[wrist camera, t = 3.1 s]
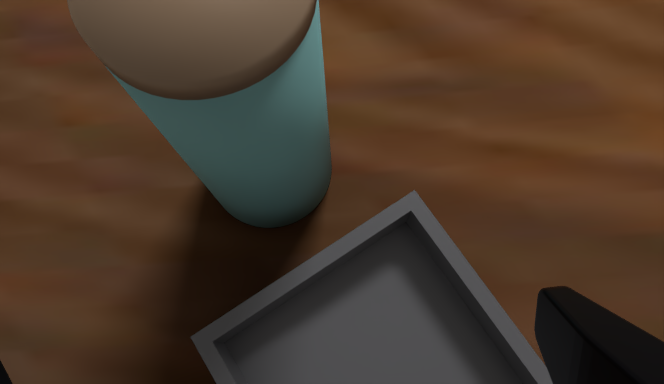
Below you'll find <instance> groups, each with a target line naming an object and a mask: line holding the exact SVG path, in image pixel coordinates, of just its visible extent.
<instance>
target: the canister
mask: <svg viewBox="0 0 664 384" xmlns="http://www.w3.org/2000/svg"><path fill="white" fill-rule="evenodd" d="M67 2H68V8H69V11H70V14H71V18H72V20H73V22H74V24H75V26H76V28H77V31H78V32H79V34H80V35H81V37H82V38H83V39H84V41H85V42H86V44H87V45H88V46H89V47H90V48H91V50H92V51H93V52H94V53H95V54H96V56H97V57H98V58H99V59H100V60H101V61H102V63H103V64H104V65H105V66H106V67H107V69H108V70H109V71H110V72H111V73H112V75H113V76H114V77H115V78H116V79H117V81H118V82H119V83H120V84H121V85H122V87H123V88H124V89H125V90H126V91H127V93H128V94H129V95H130V96H131V97H132V99H133V100H134V101H135V102H136V103H137V105H138V106H139V107H140V108H141V109H142V111H143V112H144V113H145V114H146V115H147V116H148V118H149V119H150V120H151V121H152V122H153V124H154V125H155V126H156V127H157V128H158V130H159V131H160V132H161V133H162V134H163V136H164V137H165V138H166V139H167V140H168V142H169V143H170V144H171V145H172V146H173V148H174V149H175V150H176V151H177V152H178V154H179V155H180V156H181V157H182V158H183V160H184V161H185V162H186V163H187V164H188V166H189V167H190V168H191V169H192V170H193V172H194V173H195V174H196V175H197V176H198V177H199V179H200V180H201V181H202V182H203V183H204V185H205V186H206V187H207V188H208V189H209V191H210V192H211V193H212V194H213V195H214V197H215V198H216V199H217V200H218V201H219V203H220V204H221V205H222V206H223V207H224V208H225V209H226V211H227V212H228V213H230V214H231V215H232V216H233V217H235V218H236V219H238V220H240V221H241V222H244V223H246V224H249V225H252V226H256V227H263V228H275V227H282V226H286V225H289V224H292V223H294V222H297V221H298V220H300V219H302V218H304V217H305V216H307V215H308V214H309V213H311V212H312V211H313V210H314V209H315V208H316V207H317V205H318V204H319V203H320V202H321V200H322V199H323V197H324V195H325V194H326V191H327V189H328V186H329V183H330V179H331V170H332V165H331V152H330V139H329V127H328V114H327V102H326V89H325V77H324V64H323V51H322V39H321V26H320V14H319V1H318V0H67Z"/></svg>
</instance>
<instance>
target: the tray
mask: <svg viewBox="0 0 664 384" xmlns="http://www.w3.org/2000/svg"><path fill="white" fill-rule="evenodd" d="M191 339H192V341H193V343H194V344H195V346H196V348H197V350H198V352H199V353H200V355H201V357H202V359H203V361H204V362H205V364H206V366H207V368H208V370H209V371H210V373H211V375H212V377H213V379H214V380H215V382H216V384H553V383H552V380H551V378H550V375H549V372H548V370H547V367H546V366H545V365H544V363H543V362H542V361H541V359H540V358H539V357H538V355H537V354H536V353H535V351H534V350H533V349H532V347H531V346H530V345H529V343H528V342H527V341H526V339H525V338H524V337H523V335H522V334H521V332H520V331H519V330H518V328H517V327H516V326H515V324H514V323H513V322H512V320H511V319H510V318H509V316H508V315H507V314H506V312H505V311H504V310H503V308H502V307H501V306H500V304H499V303H498V302H497V300H496V299H495V298H494V296H493V295H492V293H491V292H490V291H489V289H488V288H487V287H486V285H485V284H484V283H483V281H482V280H481V279H480V277H479V276H478V275H477V273H476V272H475V271H474V269H473V268H472V267H471V265H470V264H469V263H468V261H467V260H466V259H465V257H464V256H463V254H462V253H461V252H460V250H459V249H458V248H457V246H456V245H455V244H454V242H453V241H452V240H451V238H450V237H449V236H448V234H447V233H446V232H445V230H444V229H443V228H442V226H441V225H440V224H439V222H438V221H437V220H436V218H435V217H434V215H433V214H432V213H431V211H430V210H429V209H428V207H427V206H426V205H425V203H424V202H423V201H422V199H421V198H420V197H419V195H418V194H417V193H416V191H415V190H414V191H412V192H411V193H409V194H408V195H406V196H405V197H403V198H402V199H400V200H399V201H397V202H396V203H394V204H393V205H391V206H390V207H388V208H386V209H385V210H383V211H382V212H380V213H379V214H377V215H376V216H374V217H373V218H371V219H370V220H368V221H367V222H365V223H364V224H362V225H361V226H359V227H357V228H356V229H354V230H353V231H351V232H350V233H348V234H347V235H345V236H344V237H342V238H341V239H339V240H338V241H336V242H335V243H333V244H331V245H330V246H328V247H327V248H325V249H324V250H322V251H321V252H319V253H318V254H316V255H315V256H313V257H312V258H310V259H309V260H307V261H306V262H304V263H302V264H301V265H299V266H298V267H296V268H295V269H293V270H292V271H290V272H289V273H287V274H286V275H284V276H283V277H281V278H280V279H278V280H276V281H275V282H273V283H272V284H270V285H269V286H267V287H266V288H264V289H263V290H261V291H260V292H258V293H257V294H255V295H254V296H252V297H251V298H249V299H247V300H246V301H244V302H243V303H241V304H240V305H238V306H237V307H235V308H234V309H232V310H231V311H229V312H228V313H226V314H225V315H223V316H221V317H220V318H218V319H217V320H215V321H214V322H212V323H211V324H209V325H208V326H206V327H205V328H203V329H202V330H200V331H199V332H197V333H196V334H194V335H192V336H191Z"/></svg>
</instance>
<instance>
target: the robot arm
mask: <svg viewBox="0 0 664 384" xmlns="http://www.w3.org/2000/svg"><path fill="white" fill-rule="evenodd" d="M535 336H536V340H537V343H538V345H539V348H540V351H541V353H542V356H543V359H544V362H545V364H546V367H547V370H548V372H549V375H550V378H551V380H552V383H553V384H664V342H663V341H661V340H660V339H658V338H656V337H654V336H653V335H651V334H649V333H647V332H646V331H644V330H642V329H640V328H639V327H637V326H635V325H633V324H632V323H630V322H628V321H626V320H625V319H623V318H621V317H619V316H618V315H616V314H614V313H612V312H611V311H609V310H607V309H606V308H604V307H602V306H600V305H599V304H597V303H595V302H593V301H592V300H590V299H588V298H586V297H585V296H583V295H581V294H579V293H578V292H576V291H574V290H572V289H571V288H569V287H566V286H557V287H547V288H543V289H541V290H540V291H539V294H538V299H537V308H536V318H535ZM0 384H12V382H11V380H10V378H9V376H8V374H7V372H6V370H5V368H4V366H3V364H2V363H1V361H0Z"/></svg>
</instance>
